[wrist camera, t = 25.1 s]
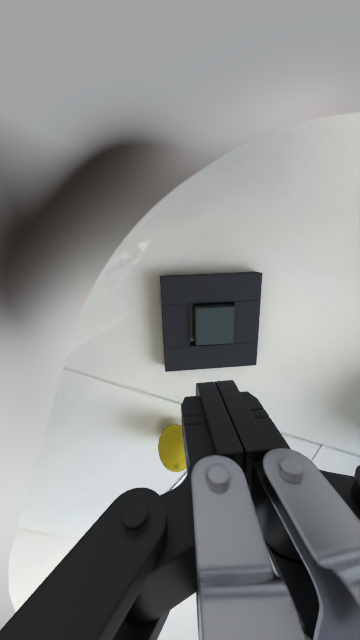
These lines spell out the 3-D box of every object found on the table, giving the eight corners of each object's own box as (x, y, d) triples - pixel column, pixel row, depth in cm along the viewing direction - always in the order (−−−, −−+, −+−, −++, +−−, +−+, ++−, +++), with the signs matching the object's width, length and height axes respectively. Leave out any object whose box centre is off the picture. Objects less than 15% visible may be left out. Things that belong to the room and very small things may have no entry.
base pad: (160, 275, 33) (160, 277, 32) (256, 271, 35) (262, 272, 33) (165, 365, 37) (165, 371, 36) (251, 359, 38) (256, 365, 37)
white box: (222, 487, 46) (223, 490, 45) (196, 513, 47) (196, 517, 46) (189, 469, 44) (190, 473, 43) (163, 497, 45) (163, 502, 44)
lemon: (196, 425, 41) (205, 465, 34) (175, 446, 42) (179, 490, 34) (173, 408, 40) (176, 446, 32) (151, 430, 41) (150, 472, 33)
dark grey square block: (192, 303, 35) (195, 308, 32) (228, 302, 35) (234, 306, 33) (193, 338, 37) (196, 345, 34) (227, 336, 37) (233, 343, 34)
